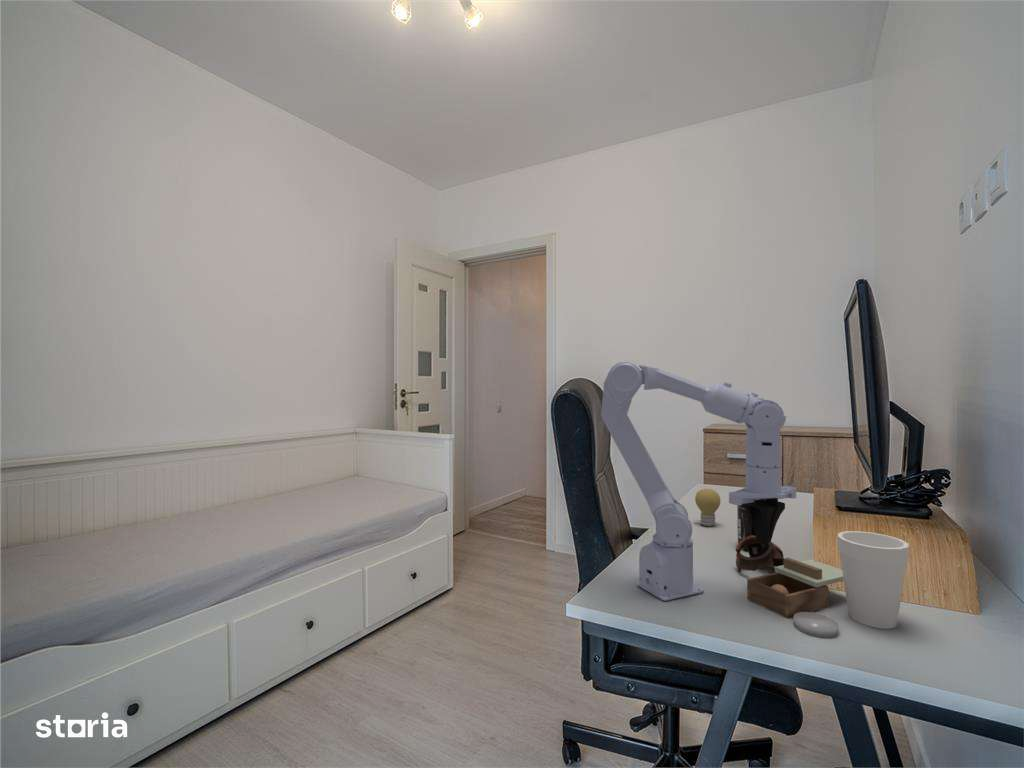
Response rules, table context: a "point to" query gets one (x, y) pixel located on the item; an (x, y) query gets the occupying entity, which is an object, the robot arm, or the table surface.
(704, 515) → the light bulb
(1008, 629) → the table surface
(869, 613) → the foam cup
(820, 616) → the grey piece
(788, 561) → the lid
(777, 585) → the ball
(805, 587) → the box
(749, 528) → the beverage can
